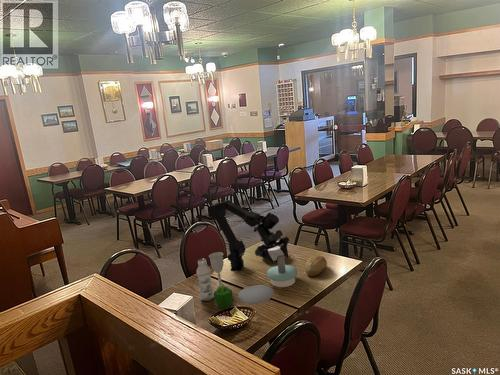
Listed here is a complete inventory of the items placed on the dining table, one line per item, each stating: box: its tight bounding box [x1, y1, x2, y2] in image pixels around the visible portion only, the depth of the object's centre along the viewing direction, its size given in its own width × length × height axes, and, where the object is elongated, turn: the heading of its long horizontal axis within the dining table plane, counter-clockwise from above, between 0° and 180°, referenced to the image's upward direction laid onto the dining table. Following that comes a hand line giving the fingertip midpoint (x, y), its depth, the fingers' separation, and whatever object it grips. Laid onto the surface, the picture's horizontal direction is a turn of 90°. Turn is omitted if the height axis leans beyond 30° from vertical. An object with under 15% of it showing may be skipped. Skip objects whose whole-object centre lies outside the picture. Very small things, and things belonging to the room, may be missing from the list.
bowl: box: [269, 276, 296, 288], centre depth 176 cm, size 12×12×4 cm
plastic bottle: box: [196, 258, 215, 302], centre depth 167 cm, size 6×7×20 cm
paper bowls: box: [259, 240, 285, 262], centre depth 205 cm, size 15×15×8 cm
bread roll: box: [304, 255, 328, 277], centre depth 183 cm, size 10×15×8 cm, turn 143°
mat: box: [237, 284, 275, 305], centre depth 168 cm, size 17×17×1 cm
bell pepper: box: [213, 282, 234, 309], centre depth 160 cm, size 8×8×10 cm
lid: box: [266, 255, 298, 281], centre depth 175 cm, size 15×15×9 cm
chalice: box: [208, 251, 226, 290], centre depth 176 cm, size 7×7×18 cm
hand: (280, 260), depth 174 cm, fingers open, 9 cm apart
